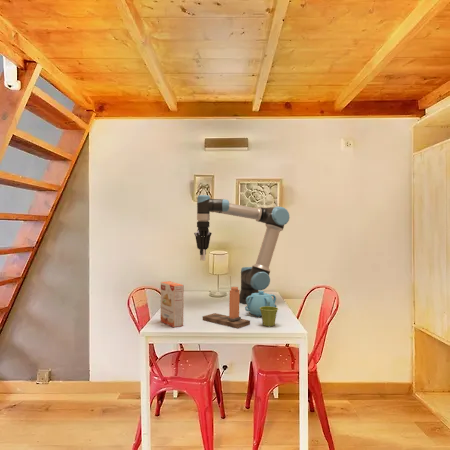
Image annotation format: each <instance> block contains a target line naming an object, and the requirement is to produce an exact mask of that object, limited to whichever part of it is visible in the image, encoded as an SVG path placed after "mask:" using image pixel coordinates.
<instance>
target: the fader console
mask: <svg viewBox="0 0 450 450" xmlns="http://www.w3.org/2000/svg"><path fill="white" fill-rule="evenodd" d="M228 318H229V315H225V314H221V313H217V312H214V313H211V314H206V315H203V316H202V321H205V322H209V323H213V324H218V325H222V326H227V327H230V328H234V329H241V328H243V327H246V326H250V325H251V320H249V319H244V318H241V319H239V320H236V321H231V320H228Z"/></svg>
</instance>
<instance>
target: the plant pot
mask: <svg viewBox="0 0 450 450" xmlns="http://www.w3.org/2000/svg"><path fill="white" fill-rule="evenodd" d="M260 310H261V315H262V316H261V320H262V321H261V322H262V326H265V327H274V326H275V325H276V318H277V313H278V310H279V308H278V307H277V306H276V307H270V306H264V307H260ZM273 325H274V326H273Z"/></svg>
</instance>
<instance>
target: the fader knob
mask: <svg viewBox="0 0 450 450" xmlns="http://www.w3.org/2000/svg"><path fill="white" fill-rule="evenodd" d="M239 294H240V289H239V286H231V287H230V290H229V305H228V306H229V307H228V312H229V314H228V316H229V318H228V320H231V321H236V320H239V319H242V317H241V316H240V302H239Z"/></svg>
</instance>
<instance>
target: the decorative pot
mask: <svg viewBox="0 0 450 450" xmlns="http://www.w3.org/2000/svg"><path fill="white" fill-rule="evenodd" d="M258 292H259V293H252V294H251V296H248V297H247V298H246V303H247V304H246V306H245V308H244V310H245V311H246V312H249V314H251V315H254V316H255V317H256V318H260V317H261V318H262V315H261V310H260V307H264V306H270V307H276V308H277V304H276V299H277V297H276V295H275V294H272V293H271V294H269V293H267V292H265V290H259V291H258ZM248 299H249V301H248Z"/></svg>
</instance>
